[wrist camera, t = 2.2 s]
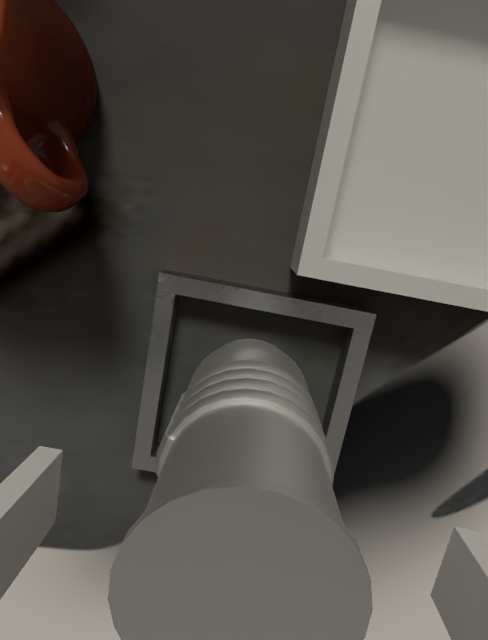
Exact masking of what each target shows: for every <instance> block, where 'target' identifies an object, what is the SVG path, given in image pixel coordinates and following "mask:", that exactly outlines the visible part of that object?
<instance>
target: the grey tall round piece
mask: <svg viewBox="0 0 488 640" xmlns="http://www.w3.org/2000/svg"><path fill="white" fill-rule="evenodd" d="M155 472H156V474H157V476H158V479H157V482H156V484H155V487H154V489H153V492H152V495H151V497H150V500H149V502H148V505H147V507H146V510H145V512H144V513H143V514H142V515H141V516H140V518H139V519H138V520H137V521H136V522H135V523H134V525H133V526H132V527H131V528H130V529H129V530H128V532H127V534H126V536H125V538H124V541H123V543H122V545H121V547H120V550H119V552H118V555H117V557H116V559H115V561H114V564H113V566H112V569H111V573H110V584H109V594H108V601H109V605H110V609H111V614H112V619H113V623H114V627H115V629H116V630H117V632H118V634H119V636H120V638H121V640H363V639H364V638H365V635H366V631H367V628H368V624H369V620H370V616H371V613H372V594H371V593H372V592H371V579H370V576H369V573H368V570H367V567H366V565H365V562H364V559H363V557H362V554H361V552H360V549H359V546H358V544H357V542H356V539H355V538H354V537H353V535H352V534H351V533H350V532H349V531H348V529H347V528H346V527H345V525H344V524H343V522H342V518H341V515H340V512H339V508H338V505H337V501H336V498H335V495H334V491H333V488H332V483H333V479H334V474H333V461H332V455H331V452H330V449H329V447H328V444H327V440H326V437H325V434H324V432H323V428H322V425H321V422H320V420H319V416H318V413H317V410H316V408H315V405H314V403H313V400H312V397H311V396H310V394H309V393H308V386H307V384H306V381H305V378H304V376H303V373H302V371H301V370H300V369H299V367H298V366H297V365H296V363H295V362H294V361H293V359H291V358H290V357H289V356H287V355H286V354H285V353H284V352H282V351H281V350H279V349H278V348H277V347H276V346H274V345H272V344H270V343H267V342H265V341H262V340H256V339H241V340H235V341H233V342H230V343H227V344H225V345H223V346H222V347H221V348H218V349H217V350H215V351H214V352H213V353H211V354H210V355H208V356H207V357H206V358H205V359H204V360H203V361H202V362H201V364H200V365H199V366H198V367H197V369H196V370H195V373H194V375H193V377H192V380H191V382H190V385H189V388H188V390H187V391H186V392H185V393H182V396H181V398H180V400H179V402H178V405H177V407H176V409H175V411H174V414H173V416H172V418H171V420H170V423H169V425H168V427H167V429H166V432H165V434H164V436H163V439H162V441H161V443H160V446H159V448H158V451H157V456H156V464H155Z"/></svg>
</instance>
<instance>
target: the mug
mask: <svg viewBox="0 0 488 640" xmlns="http://www.w3.org/2000/svg"><path fill="white" fill-rule="evenodd" d="M96 101H97V80H96V74H95V69H94V66H93V63H92V60H91V58H90V55H89V53H88V51H87V48H86V46H85V44H84V42H83V40H82V38H81V37H80V35H79V33H78V31H77V29H76V28H75V26H74V24H73V23H72V21H71V20H70V19H69V17H68V16H67V15H66V13H65V12H64V11H63V10H62V9H61V8H60V7H59V6H58V5H57V4H56V3H55V2H54V1H53V0H0V185H1V186H2V187H3V188H4V189H5V190H7V191H8V192H9V193H10V194H11V195H12V196H13V197H15V198H16V199H17V200H19V201H20V202H22V203H23V204H25V205H27V206H29V207H31V208H34V209H36V210H39V211H43V212H61V211H64V210H67V209H69V208H71V207H72V206H74V205H75V204H76V203H78V202H79V201H80V200H81V199H83V198H84V196H85V195H86V194H87V191H88V188H89V183H88V177H87V174H86V171H85V169H84V167H83V164H82V162H81V159H80V156H79V153H78V150H77V146H76V142H77V141H78V140H79V139H80V138H81V137H82V136H83V134H84V133H85V132H86V131H87V129H88V128H89V126H90V124H91V121H92V119H93V115H94V111H95V107H96Z"/></svg>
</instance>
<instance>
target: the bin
mask: <svg viewBox="0 0 488 640" xmlns="http://www.w3.org/2000/svg"><path fill="white" fill-rule="evenodd" d="M290 268H291V269H292V270H293V271H294V272H295V273H296V274H297V275H300V276H305V277H310V278H315V279H321V280H326V281H331V282H336V283H341V284H346V285H352V286H357V287H362V288H367V289H372V290H378V291H383V292H388V293H393V294H398V295H403V296H409V297H414V298H419V299H424V300H429V301H435V302H440V303H445V304H450V305H455V306H460V307H466V308H471V309H476V310H481V311H486V312H488V0H347V3H346V8H345V13H344V17H343V22H342V27H341V32H340V36H339V41H338V46H337V50H336V55H335V60H334V64H333V69H332V74H331V78H330V83H329V88H328V92H327V97H326V102H325V106H324V111H323V116H322V121H321V125H320V130H319V135H318V139H317V144H316V149H315V153H314V158H313V163H312V167H311V172H310V177H309V181H308V186H307V191H306V195H305V200H304V205H303V210H302V214H301V219H300V224H299V228H298V233H297V238H296V242H295V247H294V252H293V256H292V261H291V266H290Z"/></svg>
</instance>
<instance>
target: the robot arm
mask: <svg viewBox="0 0 488 640" xmlns="http://www.w3.org/2000/svg"><path fill="white" fill-rule="evenodd" d="M62 452H63V450H59V449H53V448H48V447H43V446H39V447H38V448H37V449H36V450H35V451H34V452H33V453H32V454H31V455H30V456H29V457H28V458H27V459H26V460H25V461H24V462H23V463H22V464H21V465H20V466H19V467H17V468H16V469H15V470H14V471H13V472H12V473H11V474H10V475H9V476H8V477H7V478H6V479H5V480H4V481H3V482H2V483H1V484H0V599H1V598H2V596H3V595H4V593H5V592H6V590H7V589H8V588H9V586H10V585H11V584H12V582H13V581H14V579H15V578H16V576H17V575H18V574H19V572H20V571H21V569H22V568H23V567H24V565H25V564H26V562H27V561H28V560H29V558H30V557H31V555H32V554H33V553H34V551H35V550H36V548H37V547H38V546H39V544H40V543H41V541H42V540H43V539H44V537H45V536H46V534H47V533H48V531H49V530H50V529H51V527H52V526H53V524H54V523H55V520H56V510H57V500H58V491H59V481H60V472H61V462H62ZM431 597H432V599H433V601H434V603H435V605H436V607H437V609H438V612H439V614H440V616H441V618H442V620H443V622H444V625H445V627H446V629H447V631H448V633H449V635H450V637H451V640H488V545H487V544H486V542H485V541H484V540H483V538H482V537H481V536H480V534H479V533H478V531H475V530H470V529H465V528H460V527H454V529H453V532H452V535H451V537H450V540H449V543H448V546H447V549H446V552H445V555H444V558H443V561H442V564H441V566H440V569H439V572H438V575H437V578H436V581H435V584H434V587H433V590H432V593H431Z"/></svg>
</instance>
